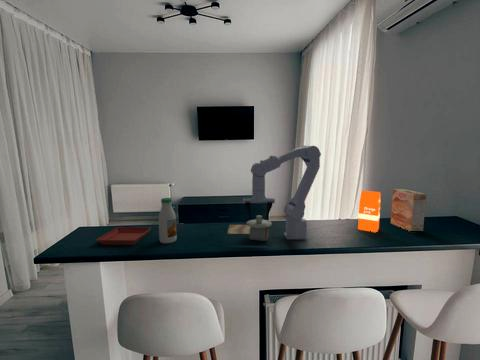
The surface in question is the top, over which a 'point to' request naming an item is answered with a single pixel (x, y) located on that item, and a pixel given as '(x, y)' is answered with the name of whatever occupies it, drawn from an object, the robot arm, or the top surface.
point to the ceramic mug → (259, 233)
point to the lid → (259, 223)
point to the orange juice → (369, 211)
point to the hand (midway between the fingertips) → (258, 218)
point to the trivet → (238, 229)
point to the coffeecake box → (408, 209)
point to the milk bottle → (167, 222)
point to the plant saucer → (123, 236)
